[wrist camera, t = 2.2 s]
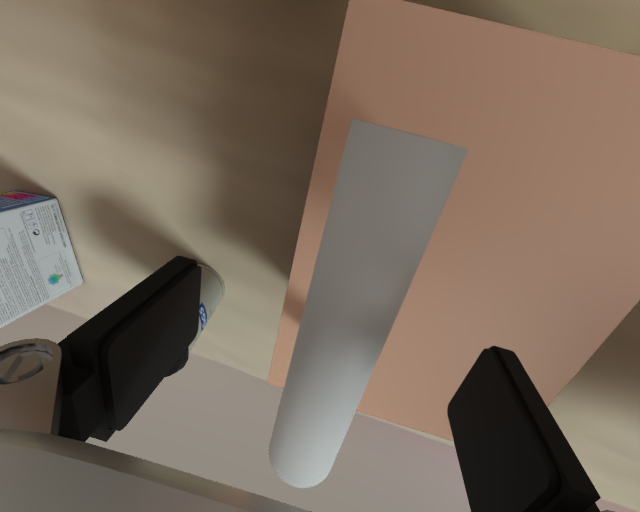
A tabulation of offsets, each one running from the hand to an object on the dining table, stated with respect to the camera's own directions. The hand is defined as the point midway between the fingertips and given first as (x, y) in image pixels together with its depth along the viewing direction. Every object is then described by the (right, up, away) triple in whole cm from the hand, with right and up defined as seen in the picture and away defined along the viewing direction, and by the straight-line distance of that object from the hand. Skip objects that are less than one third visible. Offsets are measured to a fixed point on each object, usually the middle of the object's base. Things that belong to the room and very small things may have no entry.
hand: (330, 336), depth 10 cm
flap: (+6, +1, +6) cm, 9 cm away
